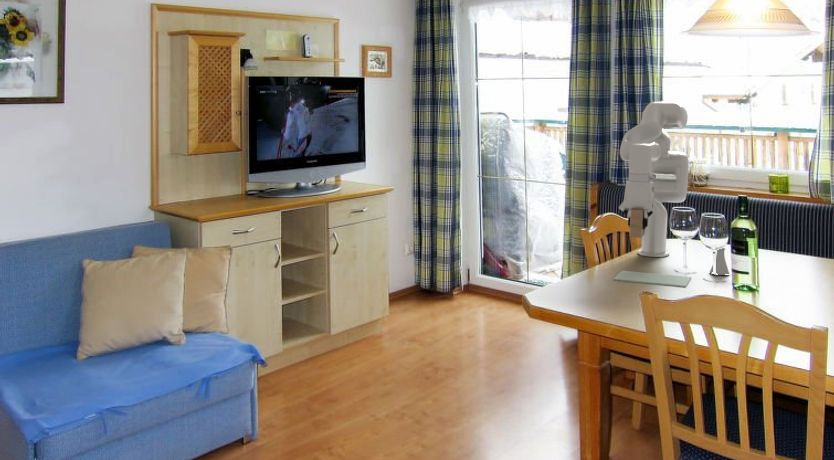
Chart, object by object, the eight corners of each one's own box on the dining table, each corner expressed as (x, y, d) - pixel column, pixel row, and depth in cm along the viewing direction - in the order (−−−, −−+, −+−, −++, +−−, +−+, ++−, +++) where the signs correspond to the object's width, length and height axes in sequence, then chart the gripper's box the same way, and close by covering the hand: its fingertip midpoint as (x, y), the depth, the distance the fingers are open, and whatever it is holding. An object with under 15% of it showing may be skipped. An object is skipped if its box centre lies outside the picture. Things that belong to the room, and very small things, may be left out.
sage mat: (621, 271, 289) (621, 270, 289) (691, 278, 277) (691, 277, 277) (614, 280, 277) (614, 278, 277) (685, 287, 266) (686, 285, 266)
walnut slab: (634, 232, 281) (635, 206, 279) (645, 233, 280) (646, 206, 278) (629, 236, 274) (630, 209, 272) (640, 237, 273) (641, 210, 271)
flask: (726, 271, 286) (728, 245, 284) (732, 276, 279) (734, 250, 277) (706, 271, 287) (708, 245, 285) (711, 276, 280) (713, 250, 278)
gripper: (665, 177, 272) (663, 228, 276) (618, 175, 280) (616, 224, 283) (661, 180, 266) (659, 231, 269) (613, 178, 273) (612, 228, 277)
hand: (637, 227), depth 276 cm, fingers closed on walnut slab, 4 cm apart
